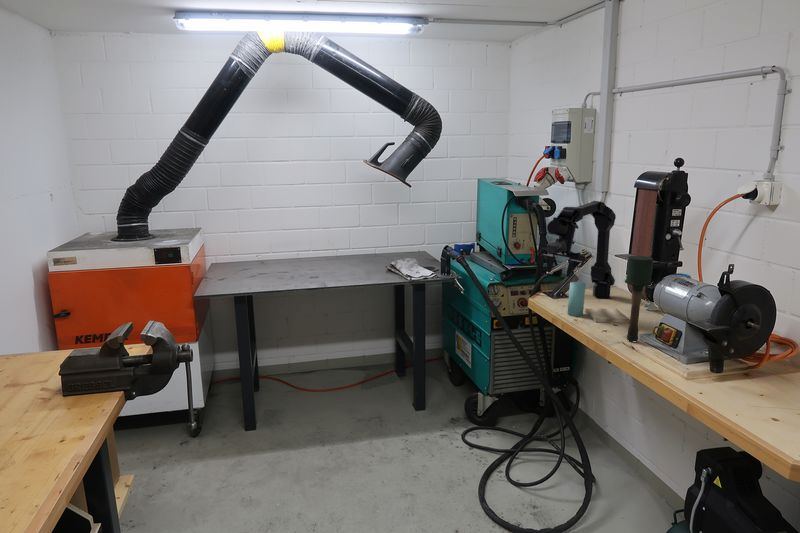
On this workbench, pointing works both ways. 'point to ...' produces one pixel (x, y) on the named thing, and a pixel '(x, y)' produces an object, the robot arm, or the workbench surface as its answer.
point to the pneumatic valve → (650, 305)
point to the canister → (576, 299)
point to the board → (606, 315)
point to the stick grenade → (637, 288)
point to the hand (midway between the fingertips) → (558, 274)
